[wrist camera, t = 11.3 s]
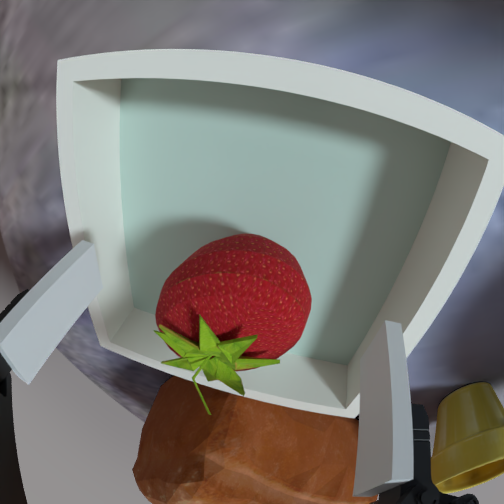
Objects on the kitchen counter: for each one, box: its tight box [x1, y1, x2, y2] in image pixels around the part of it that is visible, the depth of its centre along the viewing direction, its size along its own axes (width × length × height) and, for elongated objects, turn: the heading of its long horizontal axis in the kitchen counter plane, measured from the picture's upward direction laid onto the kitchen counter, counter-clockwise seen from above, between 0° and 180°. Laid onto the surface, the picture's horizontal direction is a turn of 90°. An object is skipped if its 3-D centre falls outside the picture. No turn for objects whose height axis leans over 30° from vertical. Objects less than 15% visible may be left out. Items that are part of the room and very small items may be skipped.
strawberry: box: [154, 234, 312, 415], centre depth 13 cm, size 6×8×10 cm
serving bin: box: [56, 49, 504, 418], centre depth 16 cm, size 20×20×5 cm
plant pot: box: [431, 382, 504, 494], centre depth 19 cm, size 10×10×10 cm
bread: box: [132, 375, 378, 504], centre depth 25 cm, size 17×24×15 cm
